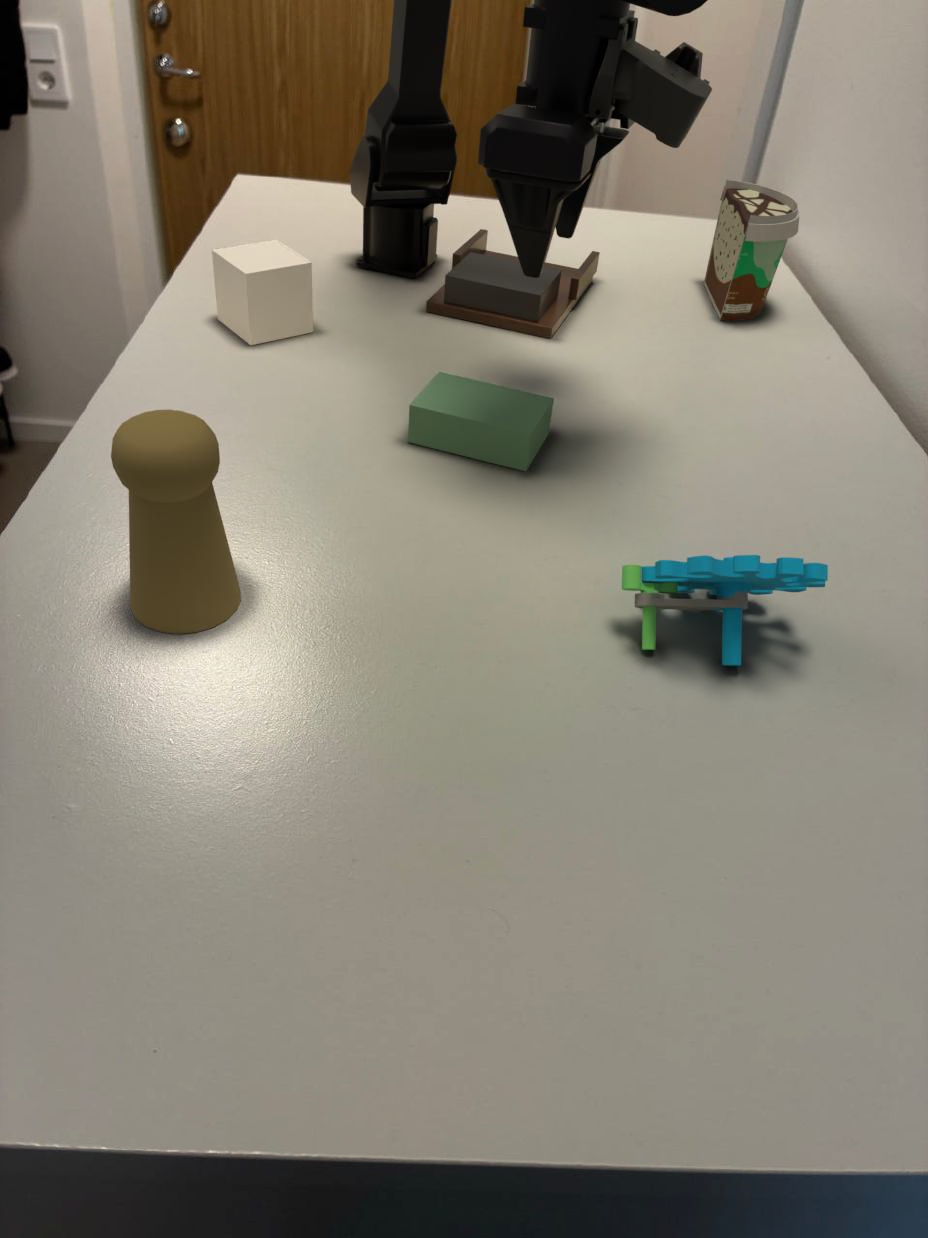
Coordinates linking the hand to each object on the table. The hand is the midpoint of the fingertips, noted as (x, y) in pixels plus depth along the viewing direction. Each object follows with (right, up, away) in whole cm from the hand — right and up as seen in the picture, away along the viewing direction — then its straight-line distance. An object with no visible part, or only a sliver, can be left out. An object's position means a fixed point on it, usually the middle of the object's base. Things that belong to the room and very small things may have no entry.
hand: (549, 255), depth 66 cm
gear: (+8, -26, -11) cm, 29 cm away
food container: (+22, +6, +29) cm, 37 cm away
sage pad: (-5, -12, +4) cm, 13 cm away
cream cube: (-23, 0, +16) cm, 28 cm away
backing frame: (-1, +6, +26) cm, 27 cm away
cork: (-22, -24, -13) cm, 35 cm away
